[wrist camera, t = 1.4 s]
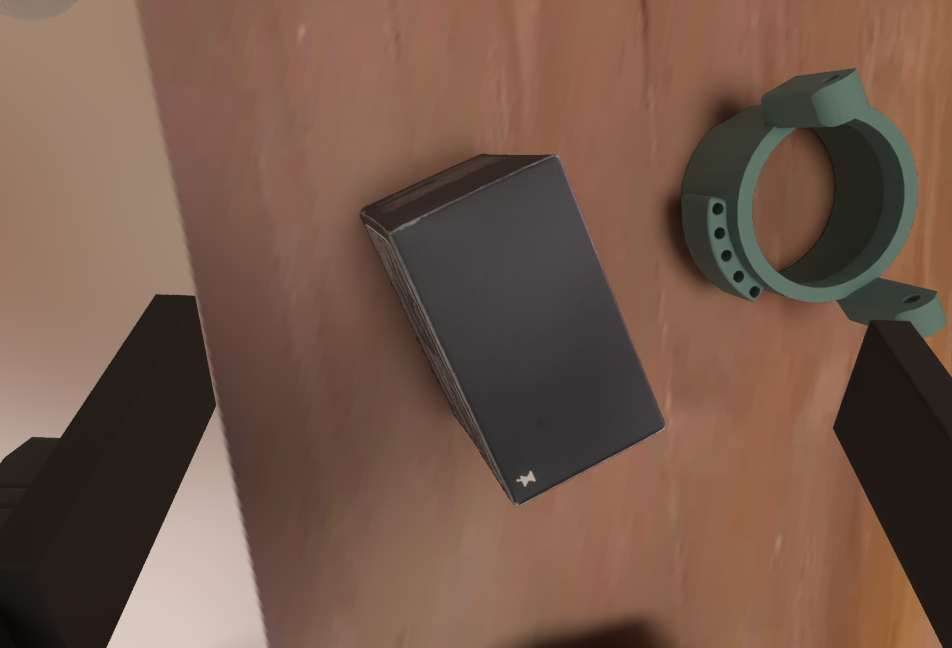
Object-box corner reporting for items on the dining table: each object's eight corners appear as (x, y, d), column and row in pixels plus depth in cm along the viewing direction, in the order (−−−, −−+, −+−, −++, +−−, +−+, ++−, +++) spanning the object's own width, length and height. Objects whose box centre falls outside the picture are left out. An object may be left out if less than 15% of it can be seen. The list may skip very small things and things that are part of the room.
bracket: (717, 71, 37) (840, 52, 29) (877, 149, 40) (1035, 152, 31) (638, 258, 38) (734, 293, 30) (798, 322, 41) (930, 372, 32)
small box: (579, 357, 39) (679, 432, 29) (454, 420, 38) (511, 519, 28) (491, 146, 36) (567, 147, 26) (353, 209, 35) (377, 236, 25)
